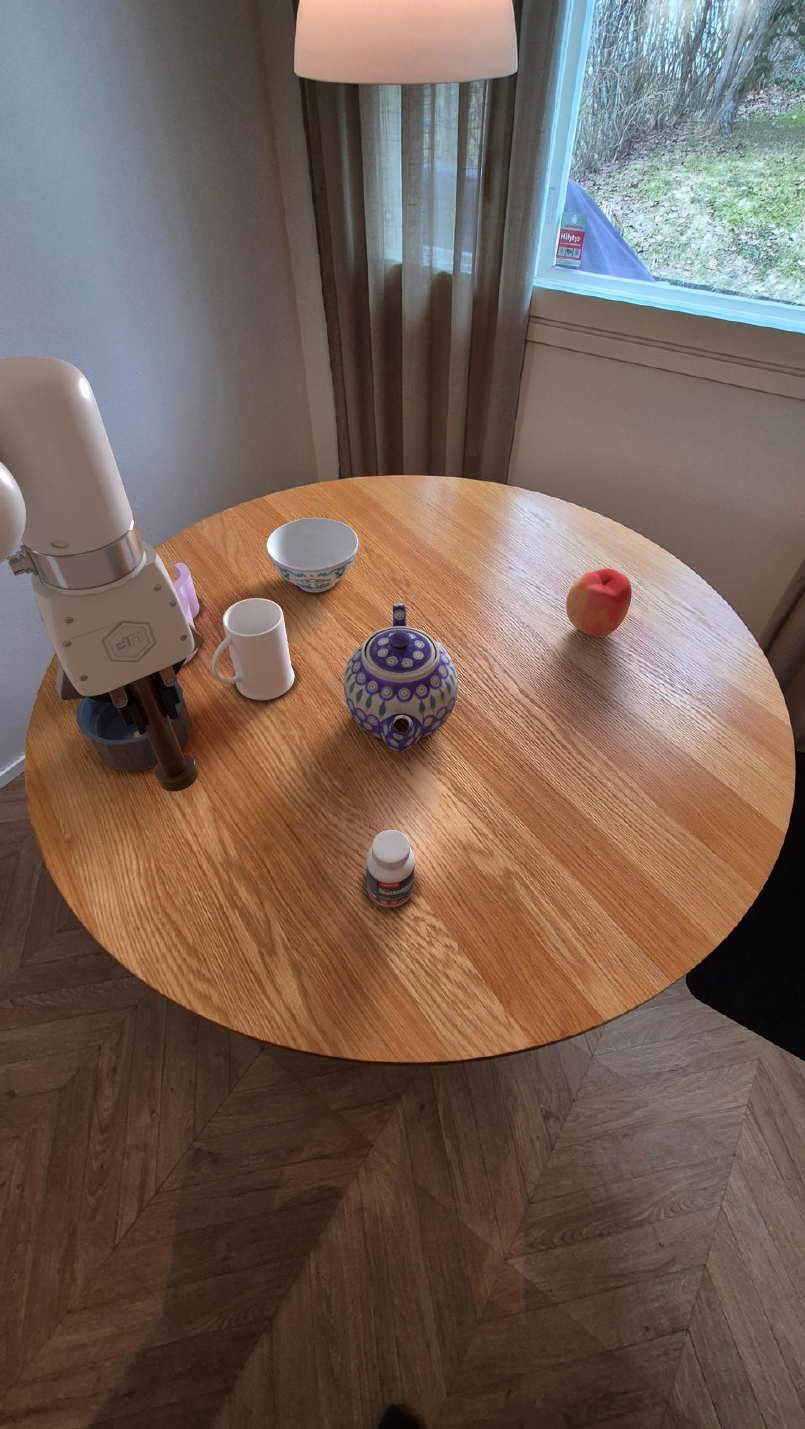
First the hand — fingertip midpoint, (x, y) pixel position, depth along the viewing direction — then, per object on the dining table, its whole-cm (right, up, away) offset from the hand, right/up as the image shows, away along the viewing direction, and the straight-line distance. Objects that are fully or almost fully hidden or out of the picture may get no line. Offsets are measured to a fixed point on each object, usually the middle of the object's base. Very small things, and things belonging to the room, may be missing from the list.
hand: (153, 716), depth 62 cm
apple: (+54, +14, +45) cm, 71 cm away
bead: (-12, -3, +26) cm, 29 cm away
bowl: (-12, -3, +29) cm, 31 cm away
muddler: (0, -6, +6) cm, 8 cm away
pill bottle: (+22, -20, +14) cm, 33 cm away
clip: (-15, +12, +42) cm, 47 cm away
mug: (+2, +4, +35) cm, 36 cm away
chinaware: (+8, +23, +53) cm, 58 cm away
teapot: (+23, 0, +32) cm, 39 cm away
